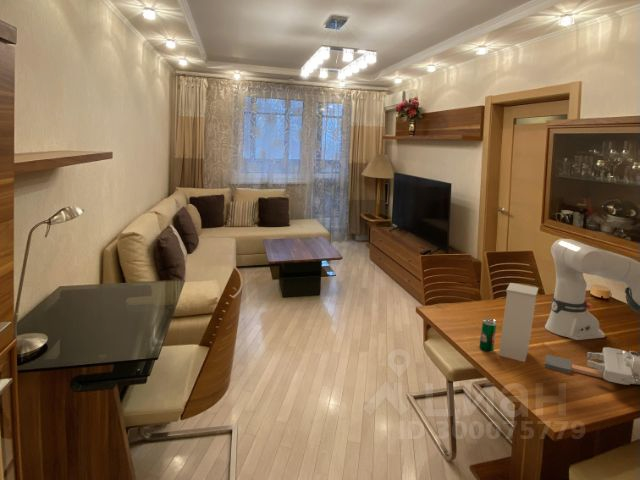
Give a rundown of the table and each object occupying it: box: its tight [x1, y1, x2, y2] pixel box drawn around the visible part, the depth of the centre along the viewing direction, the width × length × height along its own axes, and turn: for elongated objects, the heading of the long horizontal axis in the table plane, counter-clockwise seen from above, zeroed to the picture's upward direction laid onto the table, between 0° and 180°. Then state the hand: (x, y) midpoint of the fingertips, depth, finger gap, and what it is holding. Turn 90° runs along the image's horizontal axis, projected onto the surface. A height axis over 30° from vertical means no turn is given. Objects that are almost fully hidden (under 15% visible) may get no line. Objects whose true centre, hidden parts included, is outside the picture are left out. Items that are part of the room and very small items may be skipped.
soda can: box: [478, 317, 497, 353], centre depth 161 cm, size 5×5×12 cm
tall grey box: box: [498, 282, 539, 363], centre depth 156 cm, size 10×10×26 cm
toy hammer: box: [544, 354, 605, 380], centre depth 149 cm, size 18×8×2 cm, turn 60°
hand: (587, 358), depth 146 cm, fingers open, 5 cm apart
